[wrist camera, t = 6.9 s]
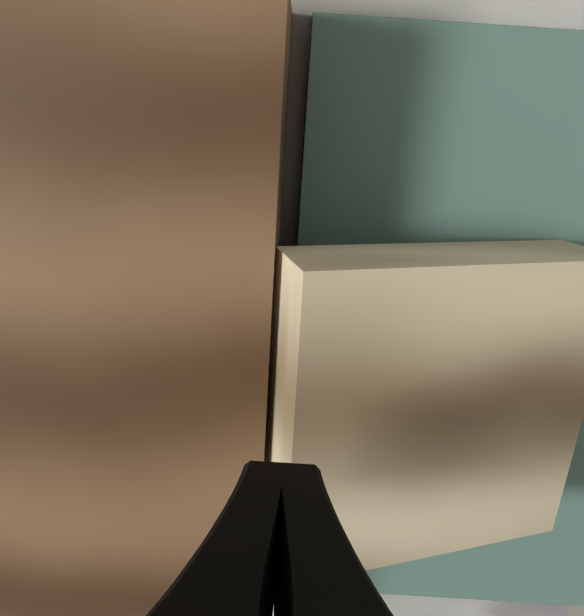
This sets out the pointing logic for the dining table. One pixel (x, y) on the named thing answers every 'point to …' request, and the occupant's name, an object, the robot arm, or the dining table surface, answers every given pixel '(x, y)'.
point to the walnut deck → (132, 286)
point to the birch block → (430, 387)
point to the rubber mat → (453, 207)
